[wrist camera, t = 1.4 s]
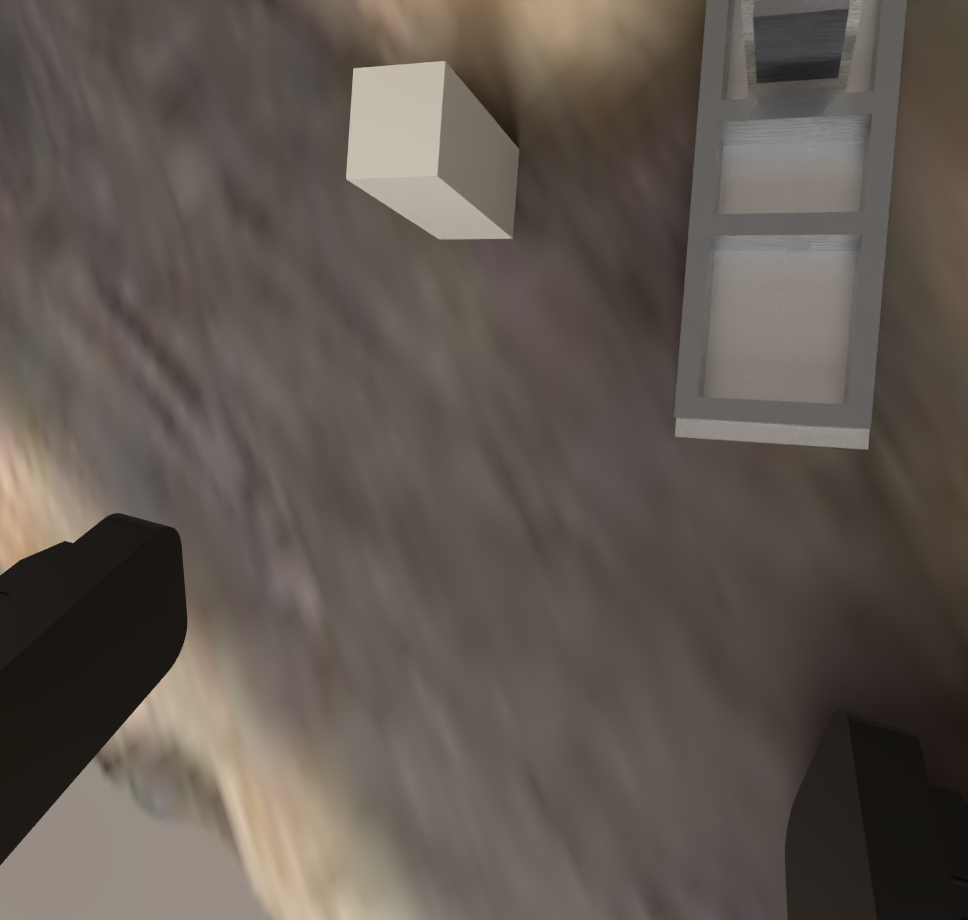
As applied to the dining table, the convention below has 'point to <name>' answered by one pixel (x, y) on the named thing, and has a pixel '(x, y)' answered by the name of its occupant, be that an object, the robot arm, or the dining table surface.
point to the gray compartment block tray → (789, 221)
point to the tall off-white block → (432, 151)
